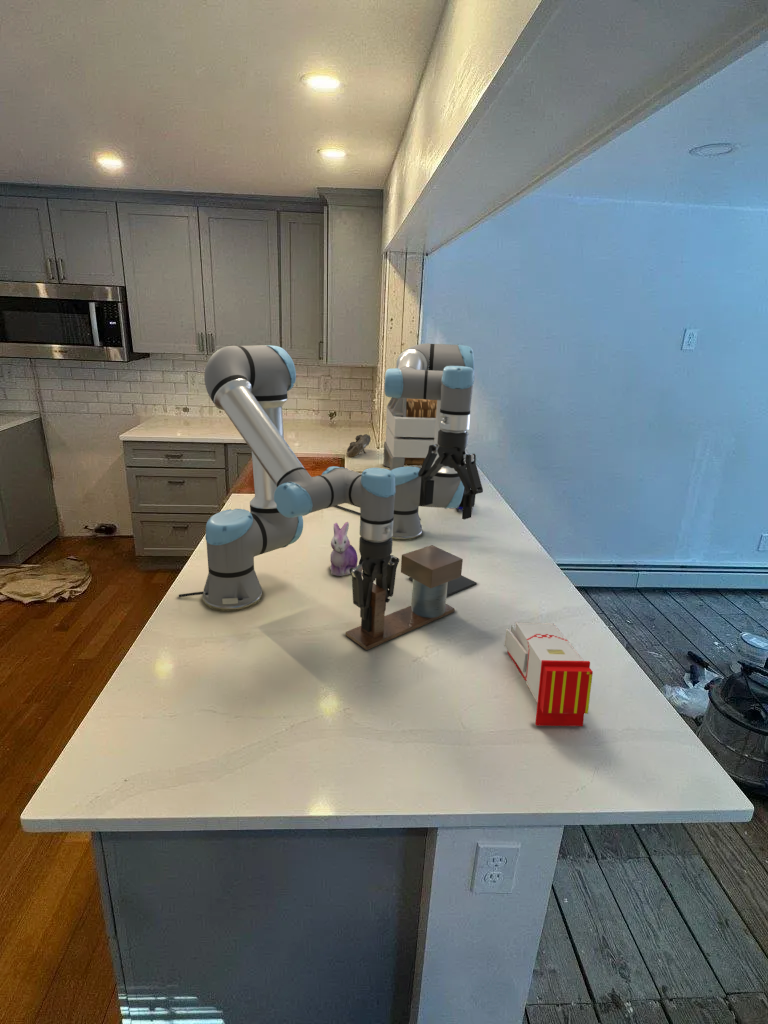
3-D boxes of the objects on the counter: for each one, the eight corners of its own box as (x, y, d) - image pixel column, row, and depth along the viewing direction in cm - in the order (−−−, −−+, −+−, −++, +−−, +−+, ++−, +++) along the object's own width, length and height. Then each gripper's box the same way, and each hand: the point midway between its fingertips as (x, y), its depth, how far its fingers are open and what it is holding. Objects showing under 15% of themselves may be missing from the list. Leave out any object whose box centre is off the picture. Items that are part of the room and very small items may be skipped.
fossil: (346, 440, 316) (367, 425, 311) (357, 453, 319) (378, 438, 314) (340, 453, 296) (362, 438, 291) (351, 468, 299) (374, 452, 294)
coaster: (408, 579, 167) (408, 577, 166) (441, 567, 175) (441, 565, 175) (443, 598, 157) (443, 596, 157) (476, 584, 165) (476, 582, 165)
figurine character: (470, 516, 223) (465, 500, 237) (473, 499, 220) (467, 484, 233) (453, 516, 223) (449, 500, 236) (455, 498, 220) (451, 483, 233)
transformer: (382, 463, 289) (386, 382, 275) (445, 464, 293) (451, 384, 279) (390, 482, 257) (394, 392, 243) (460, 483, 261) (468, 394, 247)
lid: (400, 572, 146) (401, 554, 144) (430, 561, 153) (432, 544, 151) (430, 588, 138) (432, 570, 136) (461, 576, 145) (462, 559, 143)
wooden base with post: (367, 651, 131) (369, 601, 126) (344, 634, 137) (345, 586, 133) (455, 612, 150) (460, 567, 145) (431, 599, 156) (435, 555, 152)
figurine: (335, 579, 164) (336, 531, 159) (322, 565, 172) (322, 519, 167) (364, 574, 168) (366, 527, 163) (350, 560, 177) (351, 515, 172)
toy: (550, 607, 134) (601, 667, 105) (545, 659, 137) (594, 732, 108) (499, 606, 134) (537, 666, 104) (495, 659, 137) (530, 731, 107)
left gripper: (358, 550, 121) (355, 645, 129) (413, 534, 131) (407, 623, 139) (337, 539, 126) (336, 630, 134) (391, 524, 136) (387, 610, 144)
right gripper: (408, 423, 147) (403, 501, 154) (483, 440, 130) (474, 527, 137) (428, 421, 152) (422, 496, 159) (503, 437, 135) (493, 521, 142)
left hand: (372, 626), depth 136 cm, fingers closed on wooden base with post, 3 cm apart
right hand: (446, 511), depth 148 cm, fingers open, 13 cm apart
